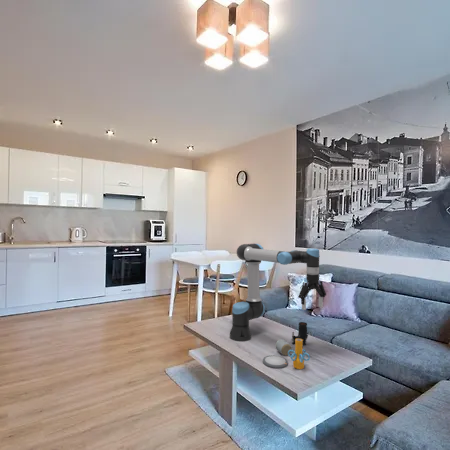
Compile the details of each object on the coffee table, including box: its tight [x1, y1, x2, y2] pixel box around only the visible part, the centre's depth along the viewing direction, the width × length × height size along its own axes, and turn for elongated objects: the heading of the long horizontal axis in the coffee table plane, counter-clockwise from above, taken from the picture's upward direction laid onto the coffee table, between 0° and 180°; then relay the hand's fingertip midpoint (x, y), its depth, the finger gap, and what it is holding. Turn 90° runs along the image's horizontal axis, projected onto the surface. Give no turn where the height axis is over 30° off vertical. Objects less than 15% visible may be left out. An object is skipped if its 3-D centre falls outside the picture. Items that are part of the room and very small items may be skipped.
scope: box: [290, 321, 309, 347], centre depth 201 cm, size 8×14×10 cm
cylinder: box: [287, 339, 311, 370], centre depth 168 cm, size 12×10×15 cm
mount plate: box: [262, 354, 289, 369], centre depth 173 cm, size 14×14×1 cm
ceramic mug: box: [275, 338, 295, 356], centre depth 187 cm, size 11×8×8 cm
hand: (312, 308), depth 187 cm, fingers open, 13 cm apart
